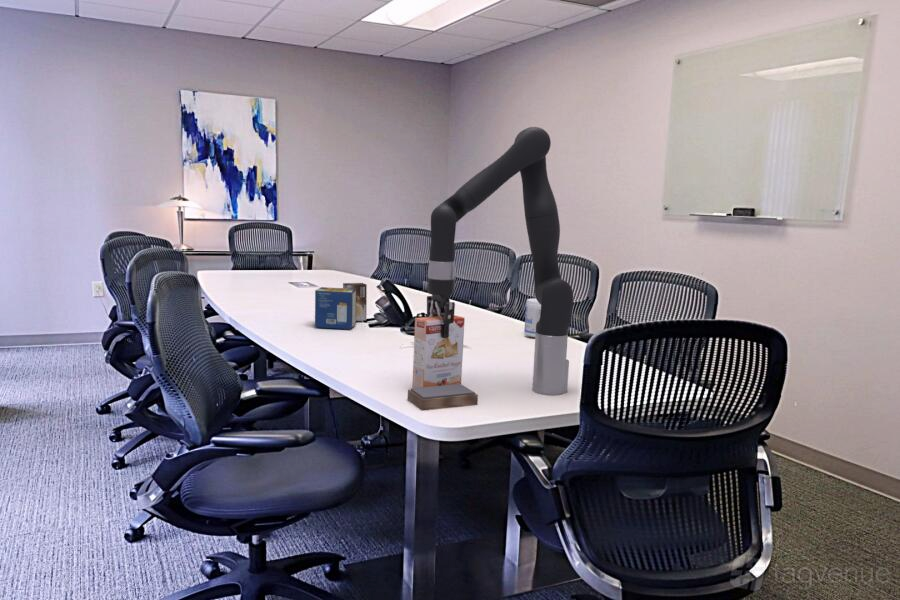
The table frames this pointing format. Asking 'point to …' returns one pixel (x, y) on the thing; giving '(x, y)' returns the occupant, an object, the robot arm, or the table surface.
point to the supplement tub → (532, 316)
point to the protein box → (335, 308)
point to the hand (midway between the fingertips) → (439, 335)
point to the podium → (442, 397)
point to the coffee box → (359, 299)
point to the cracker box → (437, 352)
